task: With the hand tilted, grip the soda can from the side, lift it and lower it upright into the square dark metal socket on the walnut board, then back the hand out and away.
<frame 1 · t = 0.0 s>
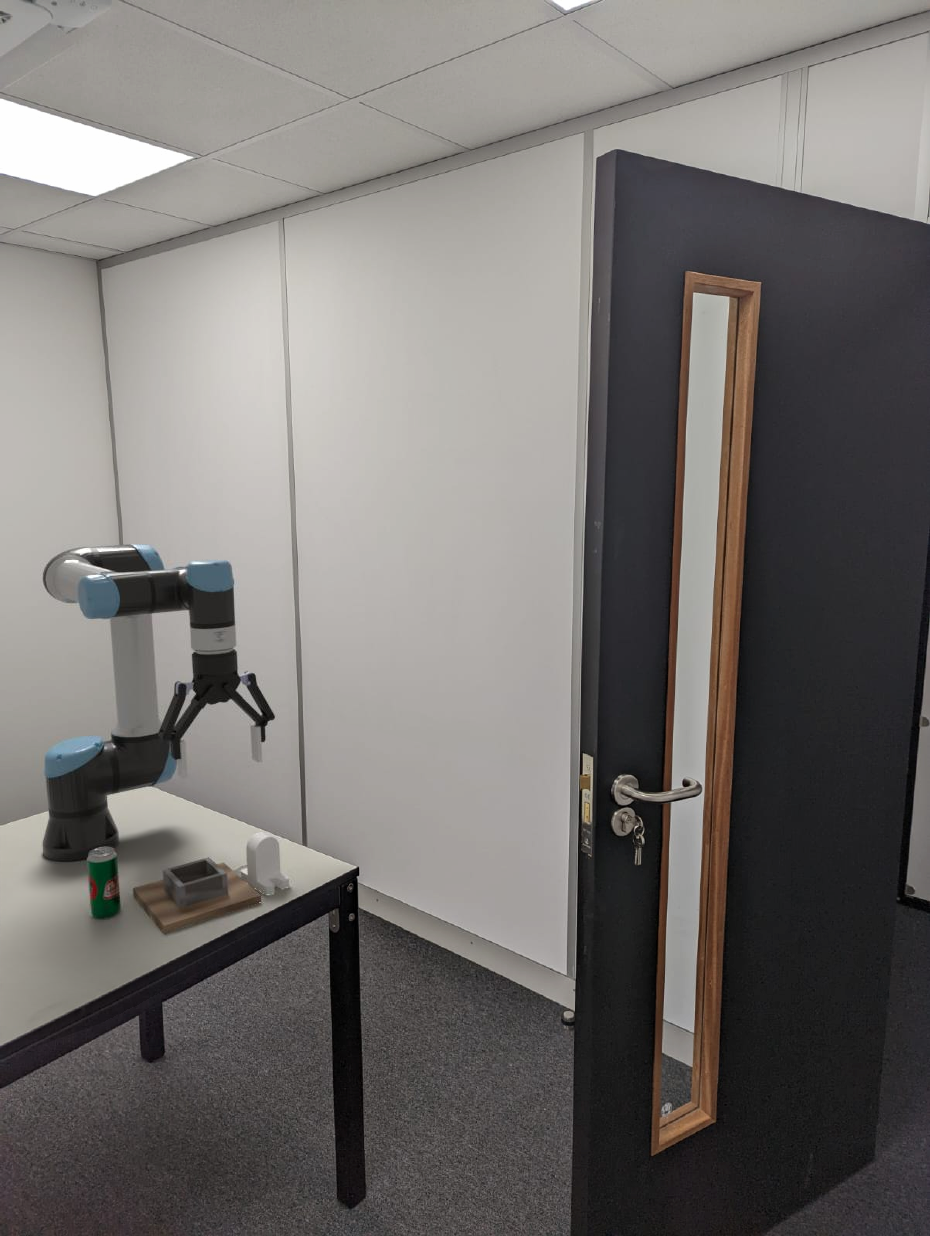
hand: (220, 768, 152), 28 cm above the table, tool pointing down, fingers open, 13 cm apart
socket board: (196, 899, 163), on the table
cable organizer: (265, 884, 170), on the table
soda can: (106, 914, 158), on the table
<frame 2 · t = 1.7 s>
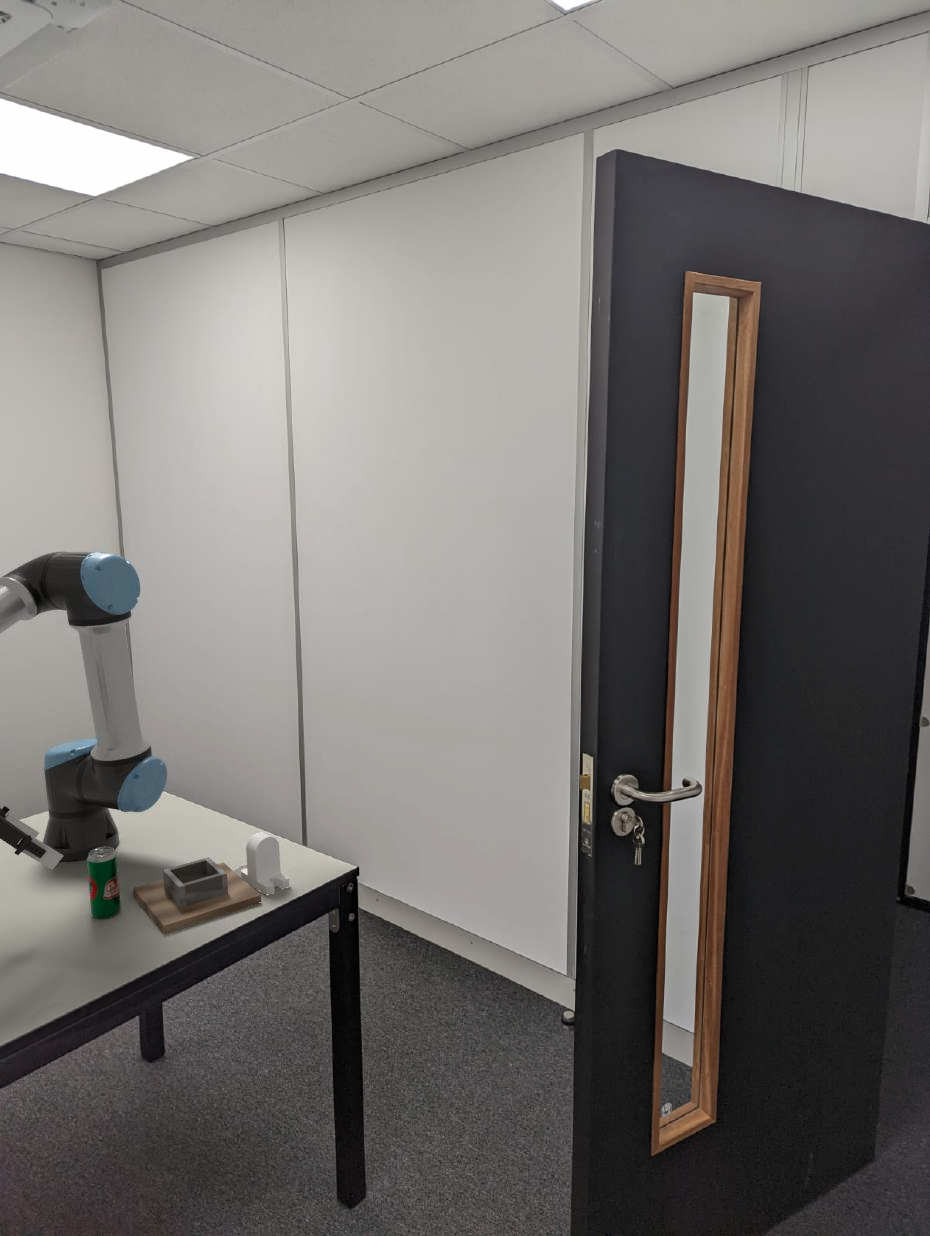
hand: (45, 850, 150), 15 cm above the table, tool tilted 45°, fingers open, 13 cm apart
nothing on the table moved.
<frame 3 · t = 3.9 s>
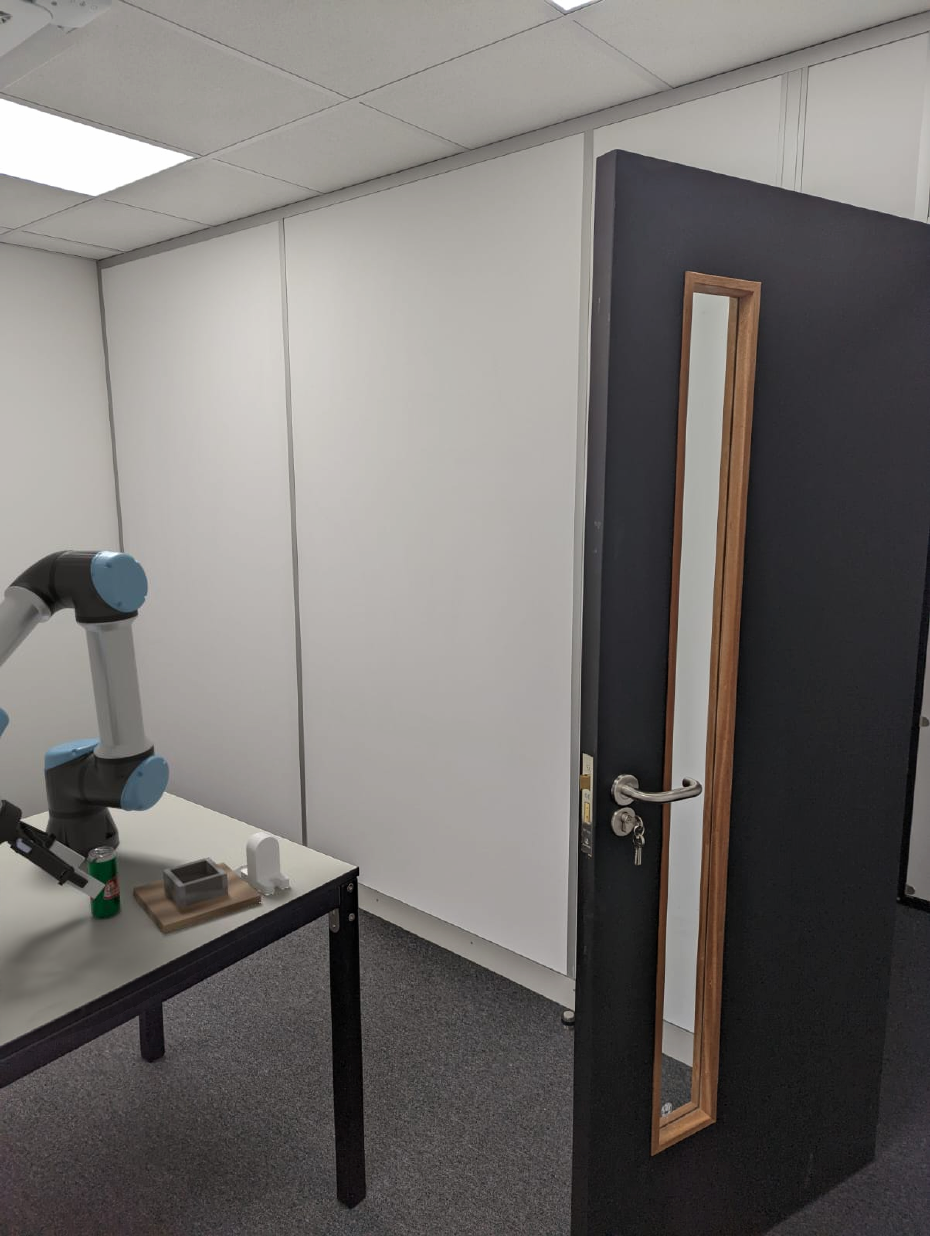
hand: (89, 877, 155), 8 cm above the table, tool tilted 45°, fingers open, 13 cm apart
nothing on the table moved.
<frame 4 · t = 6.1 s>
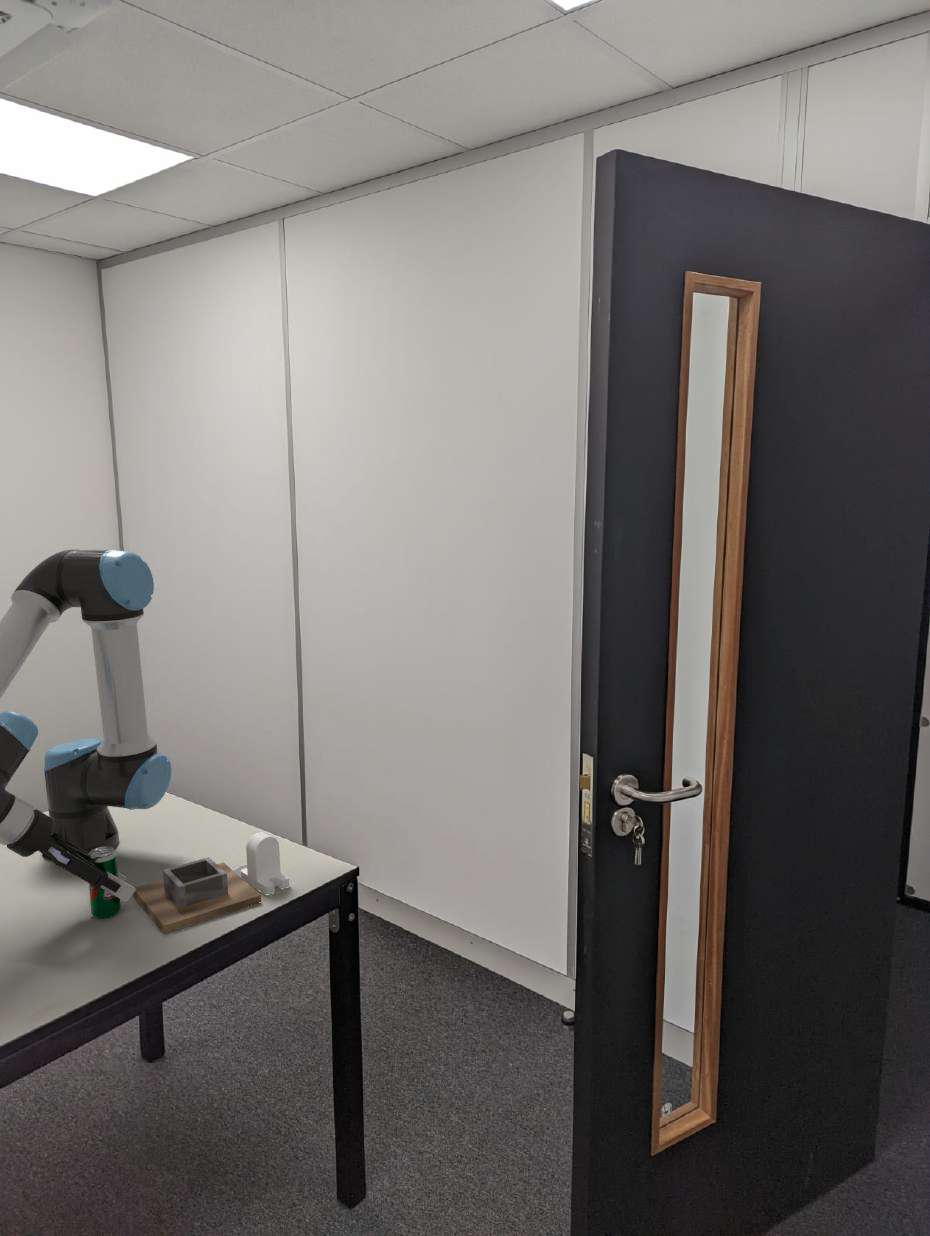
hand: (125, 889, 160), 4 cm above the table, tool tilted 45°, fingers closed on soda can, 5 cm apart
soda can: (106, 914, 158), on the table, touching gripper
everything else where it was.
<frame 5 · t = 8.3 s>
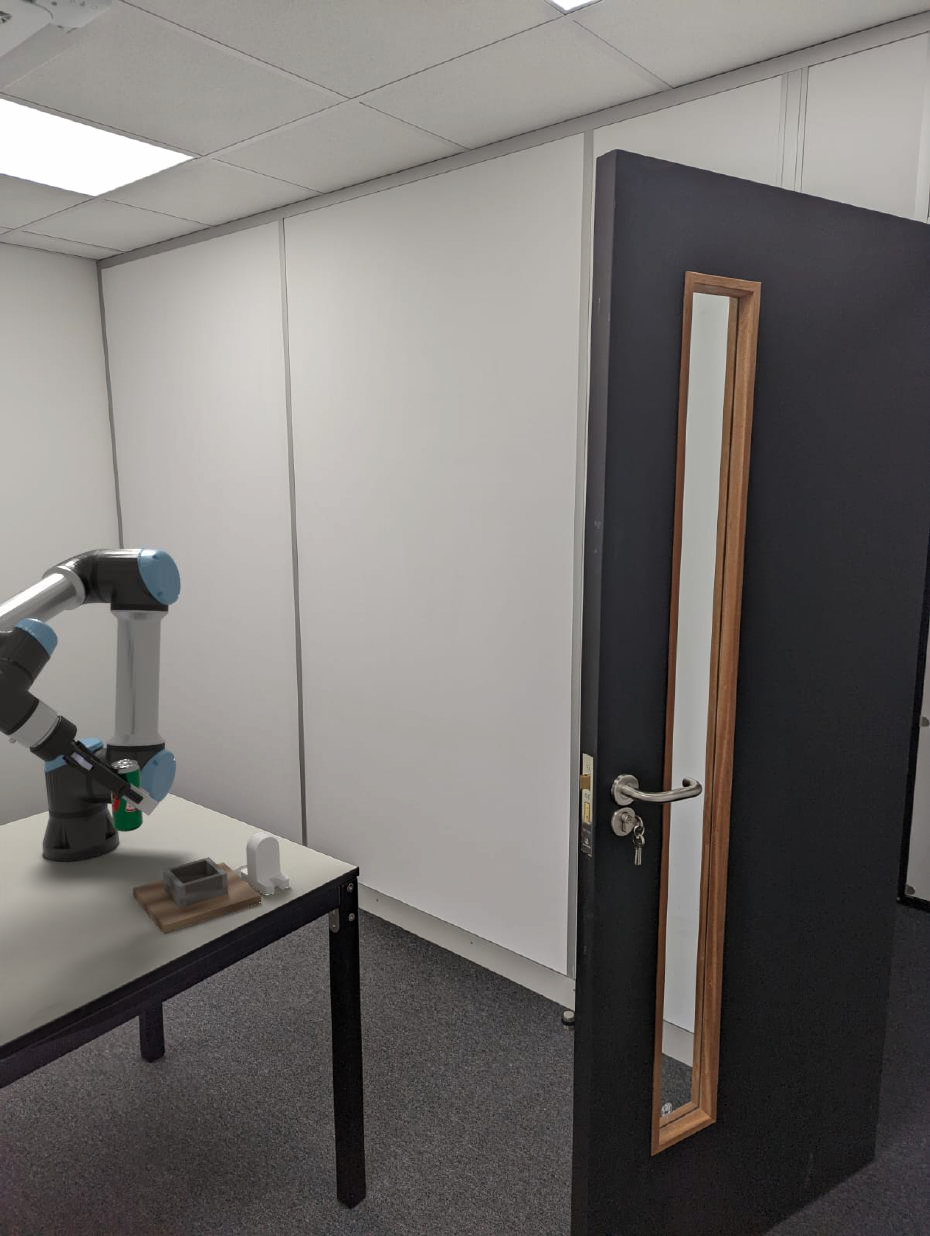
hand: (148, 804, 158), 20 cm above the table, tool tilted 45°, fingers closed on soda can, 5 cm apart
soda can: (128, 828, 156), point 16 cm above the table, touching gripper
everything else where it was.
when the fingers open (7 cm above the table, at t = 10.9 s): soda can drops 2 cm, resting on socket board.
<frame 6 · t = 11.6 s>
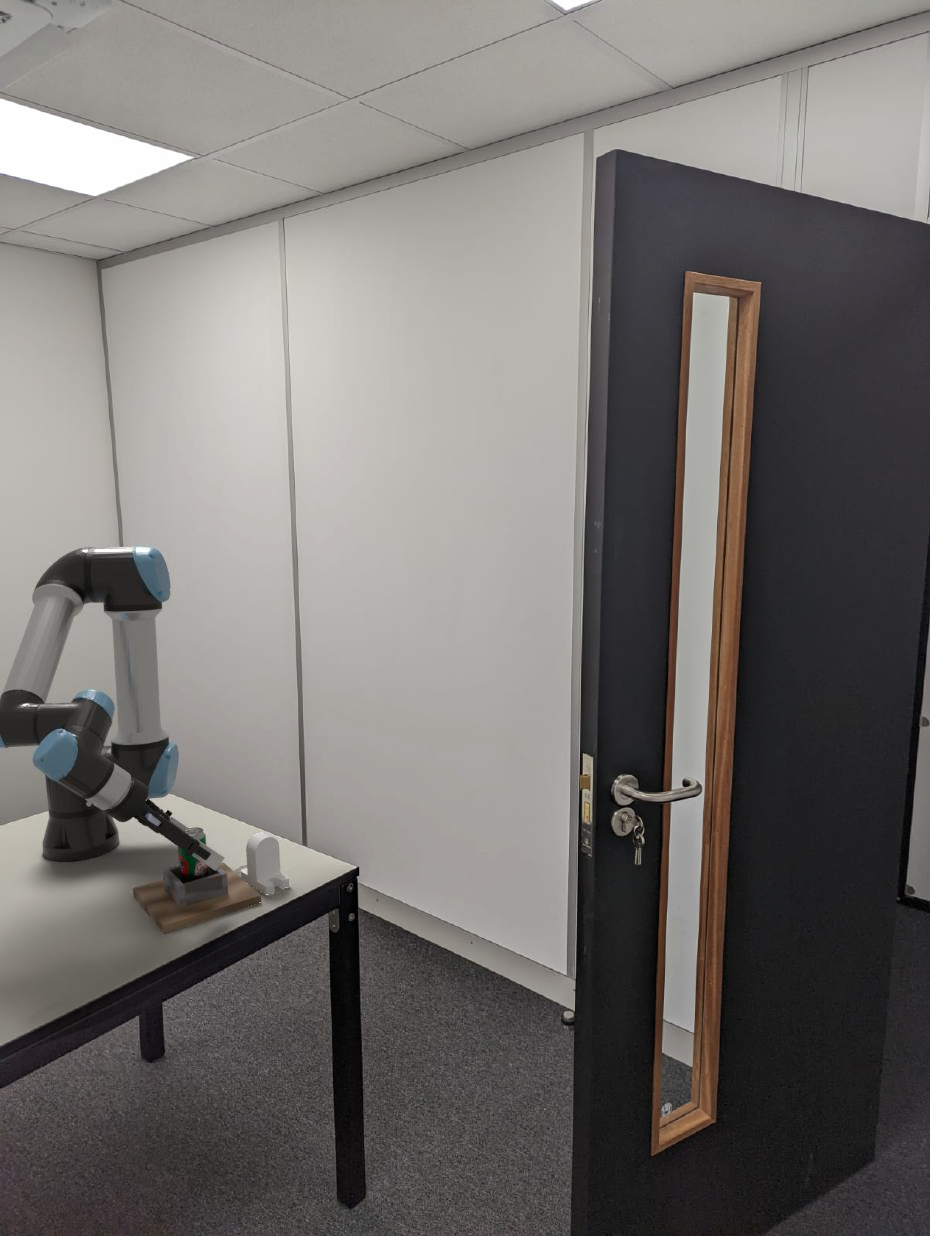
hand: (205, 851, 163), 9 cm above the table, tool tilted 45°, fingers open, 13 cm apart
soda can: (195, 892, 163), point 1 cm above the table, touching socket board
everything else where it was.
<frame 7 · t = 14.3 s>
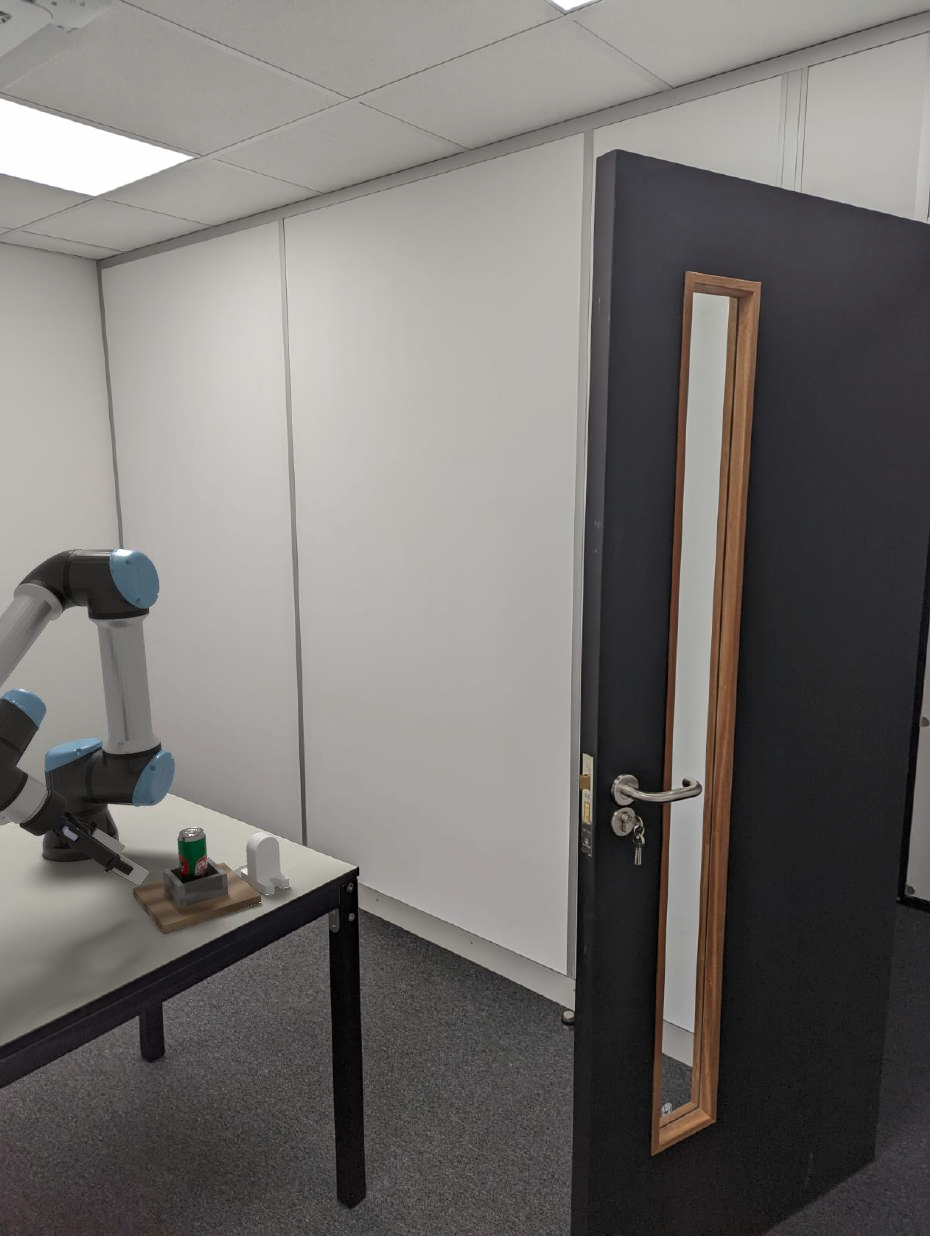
hand: (131, 864, 156), 10 cm above the table, tool tilted 45°, fingers open, 13 cm apart
nothing on the table moved.
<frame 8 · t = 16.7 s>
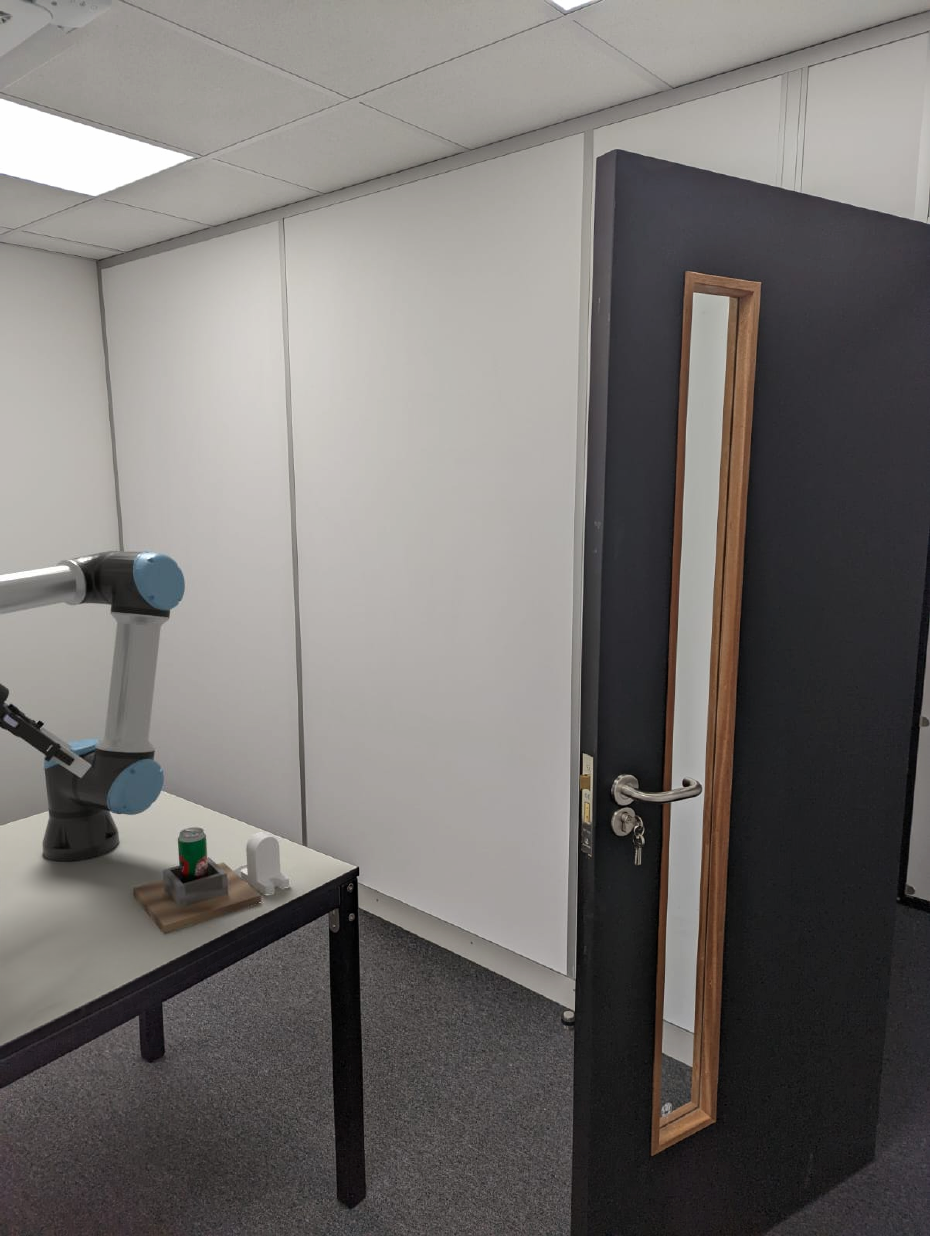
hand: (76, 761, 158), 28 cm above the table, tool tilted 45°, fingers open, 13 cm apart
nothing on the table moved.
at the end: soda can 0.2 cm off-centre on the socket board, point 1.3 cm above the socket board's base; soda can tilted 0°; the gripper is holding nothing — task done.
